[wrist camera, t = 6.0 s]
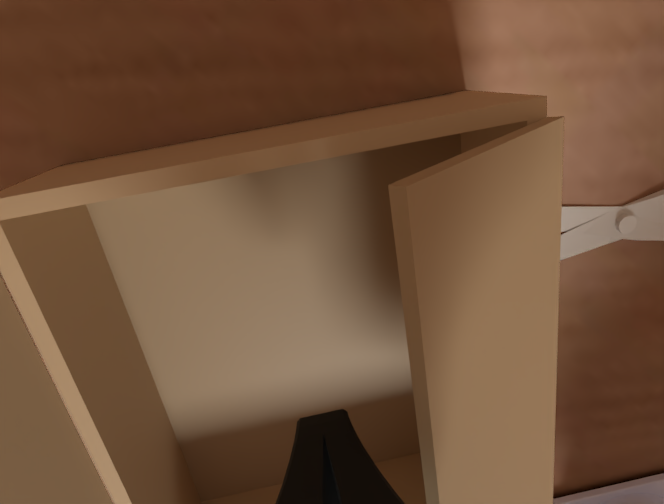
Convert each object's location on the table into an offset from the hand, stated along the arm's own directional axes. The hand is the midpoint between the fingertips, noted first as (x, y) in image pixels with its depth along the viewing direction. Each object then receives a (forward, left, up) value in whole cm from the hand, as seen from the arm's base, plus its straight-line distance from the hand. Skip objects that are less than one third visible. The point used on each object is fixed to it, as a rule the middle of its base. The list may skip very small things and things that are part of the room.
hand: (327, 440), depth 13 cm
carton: (0, 0, -6) cm, 6 cm away
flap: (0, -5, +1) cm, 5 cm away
